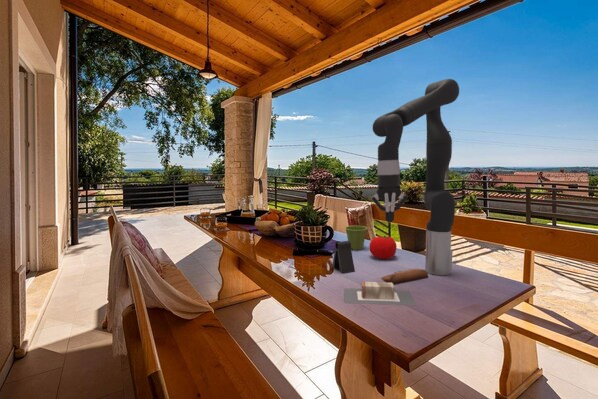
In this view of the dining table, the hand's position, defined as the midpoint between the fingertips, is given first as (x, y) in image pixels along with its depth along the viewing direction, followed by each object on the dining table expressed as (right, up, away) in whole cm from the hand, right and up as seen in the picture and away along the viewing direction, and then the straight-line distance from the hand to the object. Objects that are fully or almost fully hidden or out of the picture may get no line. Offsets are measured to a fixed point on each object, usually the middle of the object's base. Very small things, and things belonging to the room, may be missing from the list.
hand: (389, 222), depth 113 cm
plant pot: (-2, -18, +54) cm, 57 cm away
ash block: (-2, -22, -10) cm, 24 cm away
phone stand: (-14, -22, +21) cm, 33 cm away
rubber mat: (-7, -24, -9) cm, 27 cm away
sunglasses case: (+7, -23, +7) cm, 25 cm away
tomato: (+8, -20, +37) cm, 43 cm away
